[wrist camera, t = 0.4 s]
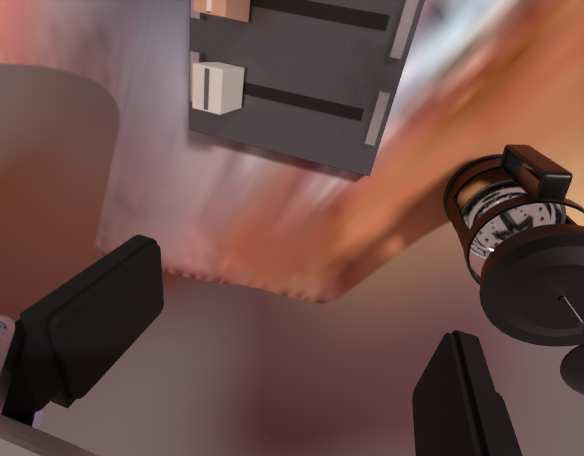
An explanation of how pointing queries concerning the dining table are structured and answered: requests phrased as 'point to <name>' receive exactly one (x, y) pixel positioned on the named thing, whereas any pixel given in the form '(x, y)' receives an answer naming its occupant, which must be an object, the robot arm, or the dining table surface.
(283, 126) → the console
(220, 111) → the fader ivory
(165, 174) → the dining table surface
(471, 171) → the french press
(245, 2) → the fader terracotta
